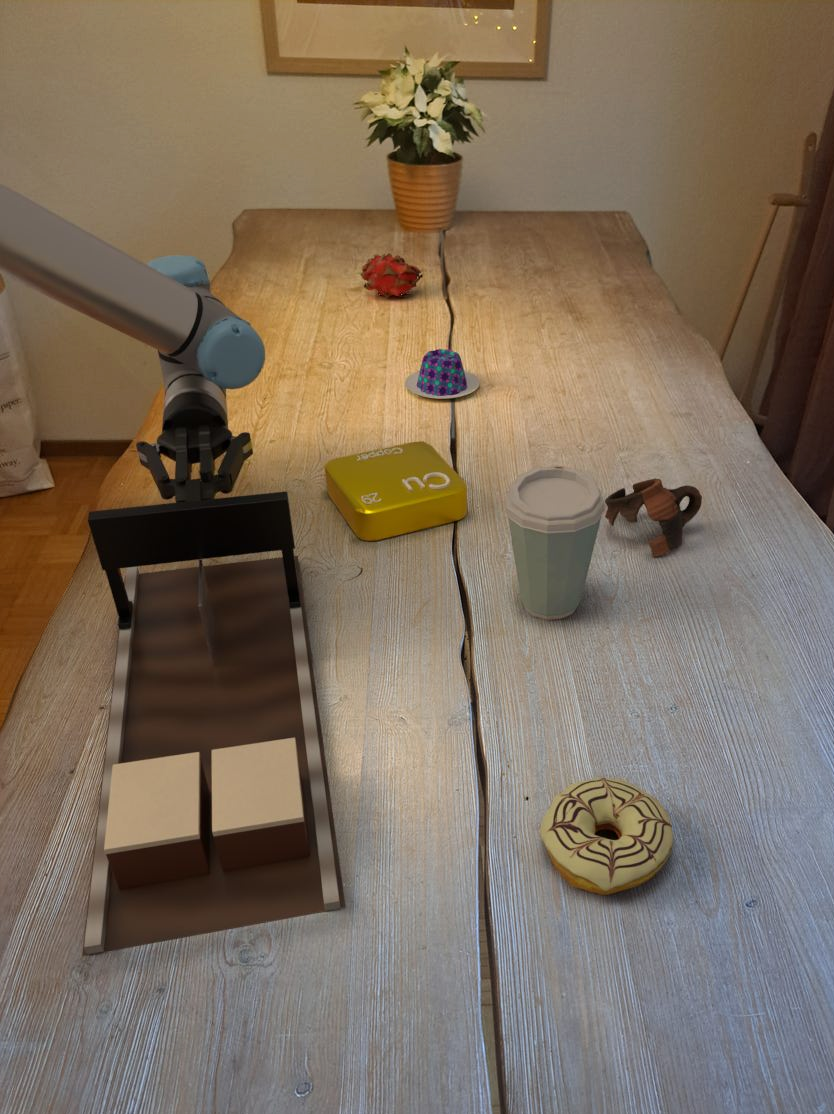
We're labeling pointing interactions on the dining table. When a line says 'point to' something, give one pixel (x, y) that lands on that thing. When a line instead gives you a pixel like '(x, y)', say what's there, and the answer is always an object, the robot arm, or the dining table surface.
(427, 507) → the element tile
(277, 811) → the cake
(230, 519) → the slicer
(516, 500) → the disposable coffee cup
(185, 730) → the brown long flat board
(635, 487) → the pottery mug
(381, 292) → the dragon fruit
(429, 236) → the dining table surface
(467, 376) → the pudding
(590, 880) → the decorated donut
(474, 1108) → the dining table surface
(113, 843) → the cake
